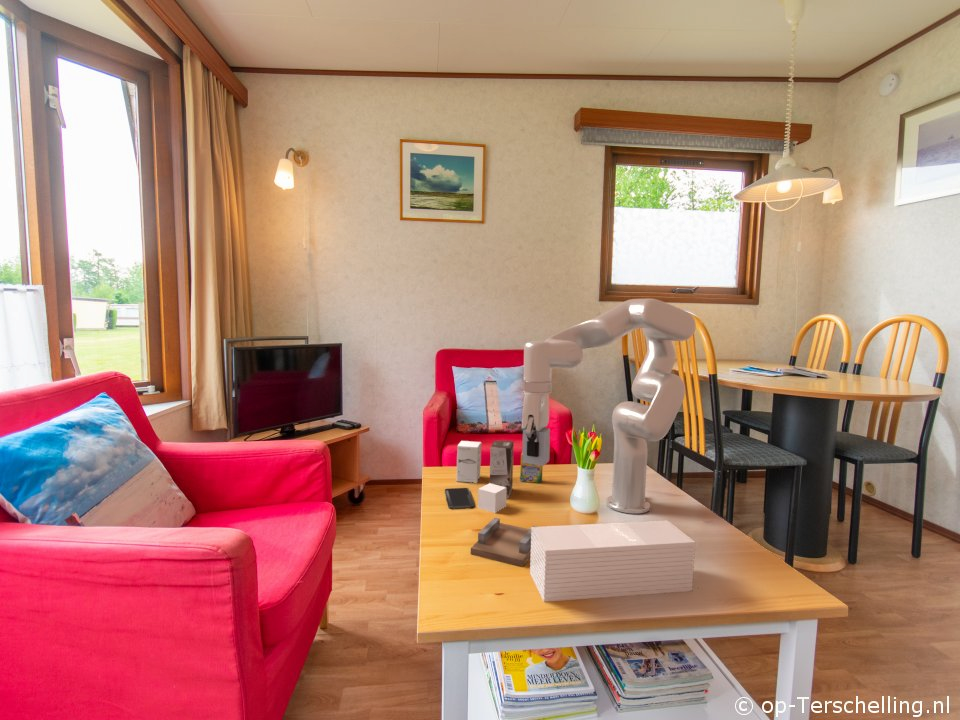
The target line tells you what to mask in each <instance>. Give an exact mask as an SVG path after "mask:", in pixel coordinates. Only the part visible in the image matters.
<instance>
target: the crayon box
mask: <svg viewBox="0 0 960 720" xmlns="http://www.w3.org/2000/svg"><path fill="white" fill-rule="evenodd" d="M522 458H523V446H522V451H521V454H520V476H519V477H520V479H519V480H520V482H521V481H524V483H531V482H537V483H536V484H540V483H541V482H543V467H544V466H541V465H535V464H528V463H522ZM541 484H542V483H541Z"/></svg>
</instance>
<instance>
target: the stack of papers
mask: <svg viewBox="0 0 960 720" xmlns="http://www.w3.org/2000/svg"><path fill="white" fill-rule="evenodd" d="M530 529H531V531H532V532H531V540H532V541H531V554H530V557H529V561H530V562H529V565H530V566H529V575H530V576H531V578H532V580H533V582H534V585H535V587H536V588H537V591H538V592H539V595H540V597H541V599H542V601H543V602H544V603H546V602H558V601H559V602H560V601H570V600H571V601H573V600H584V599H600V598H610V597H611V598H612V597H613V598H614V597H625V596H636V595H637V596H639V595H653V594H665V593H678V592H690V591H691V590H692V591H693V589H694V588H693V586H694V585H693V584H694V583H693V582H694V568H695V565H694V564H695V553H696V552H695V550H696V547H695V546H696V541H695V540H693V539H692V538H691V537H689V536H688V535H687V534H686V533H684V532H683V531H682V530H680V529H679V528H678V527H676V526H675V525H674V524H673V523H672V522H670V521H669V520H667V519H665V520H649V521H647V520H646V521H630V522H607V523H591V524H590V523H587V524H585V523H584V524H572V525H571V524H570V525H569V524H568V525H547V526H537V527H532V526H531V527H530ZM692 591H691V592H692ZM545 601H546V602H545Z"/></svg>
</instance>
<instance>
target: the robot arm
mask: <svg viewBox="0 0 960 720" xmlns="http://www.w3.org/2000/svg"><path fill="white" fill-rule="evenodd" d="M696 328H697V324H696V320H695V318H694V317H693V315H692V314H691V313H689V311H687V310H684V309H681V308H679V307H677V306H675V305H672V304H670V303H668V302H665V301H664V300H660V299H657V298H632V299H627V300H625V301H623V302H621V303H620V304H617V305H615V306H614V307H612V308H610V309H609V310H607V311H605V312H603V313H602V314H600V315H598V316H595V317H594V318H591V319H588V320H585V321H583V322H581V323H579V324H575V325H573V326H569V327H567V328H564V329H562V330H561V331H559V332H557V333H555V334H553V335H552V336H550V337H548V338H545V340H532V341H526V343H524V347H523V387H522V389H523V390H522V391H523V393H524V395H523V404H522V412H521V413H522V414H521V415H522V416H521V429H522V431H523V430H526V435H527V456H532V457H538V456H539V442H538V435H539V431H540V430H541V429H543V428H547V427H548V424H549V422H550V394H552V387H553V386H552V385H553V379H552V378H553V368H560V369H567V370H568V369H572V368H575V367H578V365H580V364H581V362H582V361H583V358H584V351H583V350H585V349H591V348H592V349H593V348H600V347H604V346H609V345H611V344H613V343H614V342H616V341H618V340H620V339H621V338H623V337H624V336H626V335H628V334H630V333H631V332H634V331H635V330H637V329H642V333H643V335H644V339H645V342H646V353H645V356H644V358H643V362H642V363H641V365H640V367H639V369H638V370H637V371H638V372H637V373H636V376H635V378H634V379H633V382H632V385H631V393H632V395H633V396H634V397H635V398H636V399H638V400H640V401H643V402H647V403H649V404H648V405H647V404H644V403H640V402H636V401H630V400H629V401H622V402H620V403H619V404H617V405H616V406H615V407H614V409H613V411H612V415H611V423H612V429H613V430H612V431H613V438H614V439H613V440H614V442H613V444H614V445H613V467H612V468H613V469H612V485H611V486H612V488H611V489H612V490H611V492H612V493H611V495H610V496H608V497H607V498H606V505H607V506H608V507H609V508H610V509H612V510H615V511H618V512H620V513H625V514H632V515H633V514H636V515H637V514H639V515H640V514H644V513H647V512H649V511H650V510H651V504H650V503H649V501H647V500H646V486H647V467H648V465H647V464H648V444H647V441H650V442H658V441H661V440H662V439H664V437H666V435H668V433H669V430H670V429H671V428H672V425H673V423H674V421H675V419H676V417H677V414H678V413H679V411H680V408H681V407H682V404H683V402H684V399H685V396H686V385H685V382H684V380H683V378H681V376H679V375H678V374H675V373H672V370H673V368H674V366H675V363H676V359H677V357H676V352H675V351H676V350H675V348H674V345H673V342H675V341H676V342H684V341H687V340H689V339H691V338H692V337H693V335H694V334H695V332H696ZM672 341H673V342H672ZM533 428H536V429H535V430H532V429H533ZM533 432H534V433H535V435H534V434H533Z"/></svg>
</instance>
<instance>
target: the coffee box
mask: <svg viewBox="0 0 960 720" xmlns="http://www.w3.org/2000/svg"><path fill="white" fill-rule="evenodd" d="M489 453H490V454H489V455H490V458H489V459H490V460H489V461H490V462H489V483H491V484H495V485H499V486H503V487H507V488H506V500H507V499H508V500H509V498H510V495H511V494H512V490H513V481H514V480H513V479H514V478H513V476H514V475H513V471H514V470H513V469H514V441H513V440H494V441H493V443H492V444H491V446H490V452H489Z"/></svg>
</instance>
